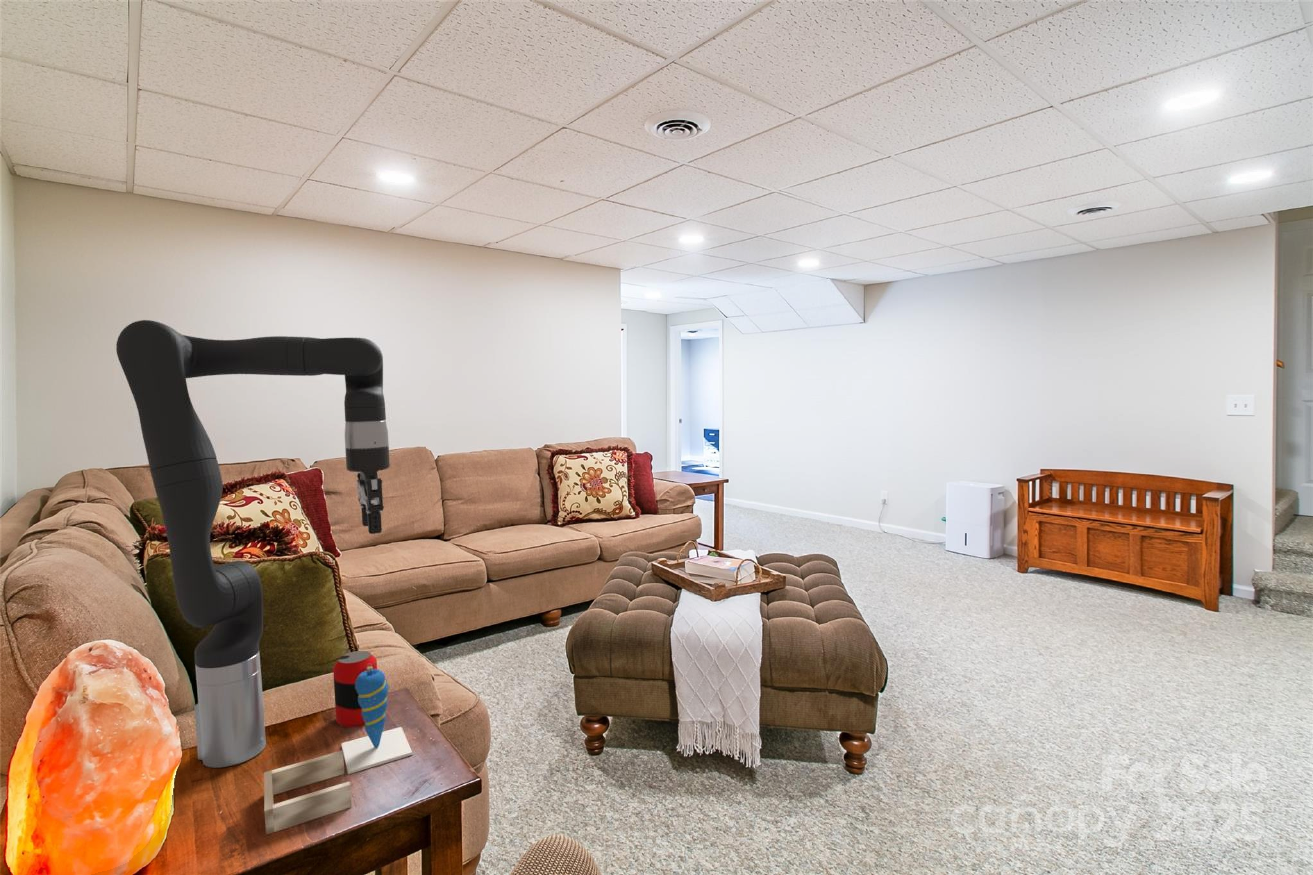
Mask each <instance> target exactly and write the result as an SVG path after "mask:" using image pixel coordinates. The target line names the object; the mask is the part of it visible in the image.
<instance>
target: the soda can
mask: <svg viewBox="0 0 1313 875" xmlns="http://www.w3.org/2000/svg"><path fill="white" fill-rule="evenodd" d="M371 665H372V667H373V669H378V660H377V657H375V656H374V655H373V654H372V653H371V652H370V651H368V650H356V651H351V652H347V653H345V654H343V655H341V656H340V657H338V659H337V661H336V662H335V664H334V665H333V667H332V672H333V674H332V675H333V690H334V691H333V692H334V704H335V721H336V723H337V724H338V725H339V726H341V727H346V728H352V727H360V726H362V725H363V726H364V725H365V721H364V719H363V717H362V708H361V706H360V705H359V702H358V696H359V694H358V693H357V691H356V688H355V682H356V679H357V677H358V676H359V675H360V674H361V673H362V672H364V671H367V667H370V666H371Z"/></svg>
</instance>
